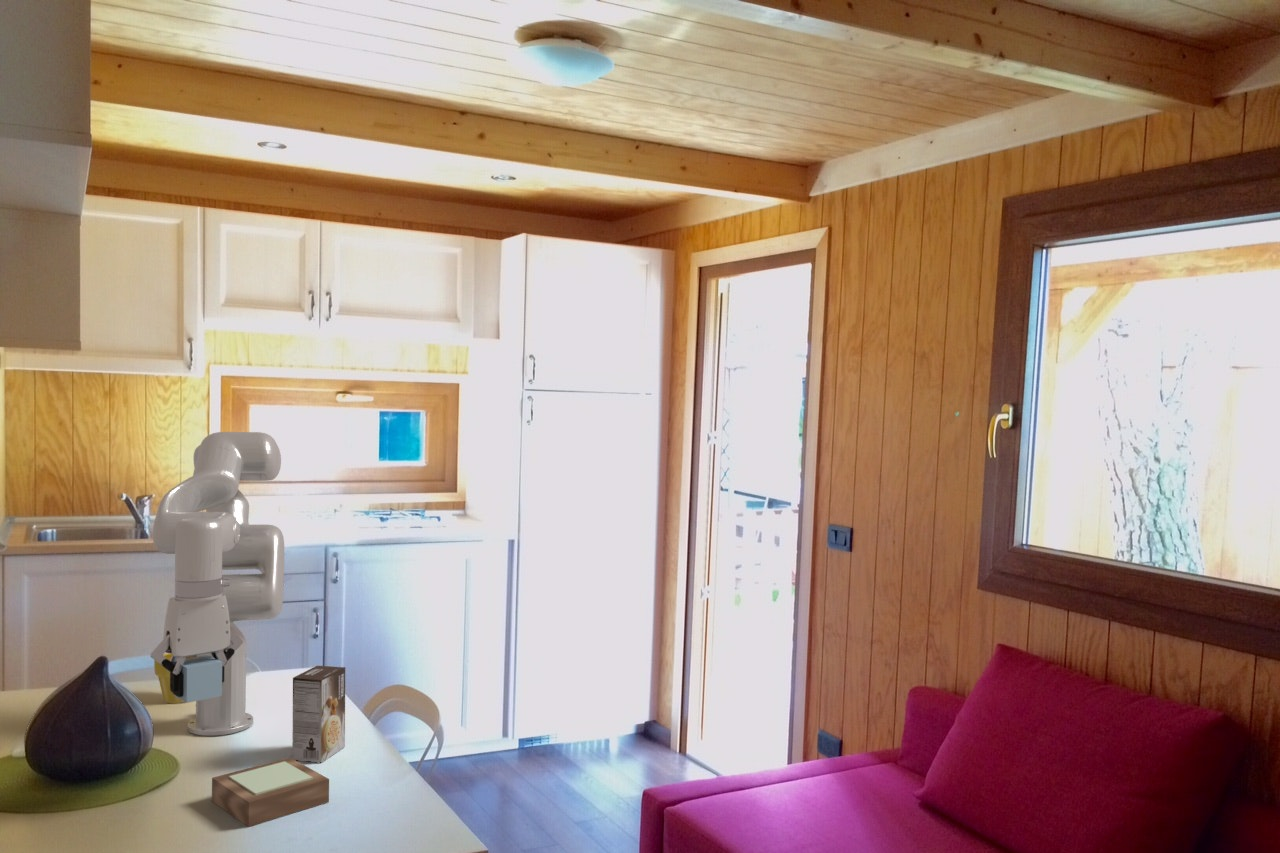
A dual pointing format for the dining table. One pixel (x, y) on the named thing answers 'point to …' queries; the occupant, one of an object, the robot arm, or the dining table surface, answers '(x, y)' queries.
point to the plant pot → (166, 681)
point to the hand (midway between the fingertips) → (197, 690)
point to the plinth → (269, 791)
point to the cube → (201, 678)
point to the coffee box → (318, 713)
